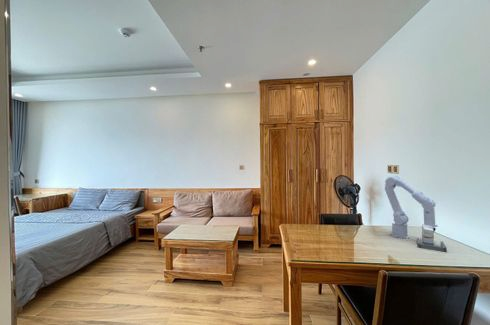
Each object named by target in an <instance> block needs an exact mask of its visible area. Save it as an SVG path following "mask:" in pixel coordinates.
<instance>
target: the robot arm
mask: <svg viewBox="0 0 490 325" xmlns="http://www.w3.org/2000/svg"><path fill="white" fill-rule="evenodd" d="M384 182H385V184H384V190H385V194H386V196H387V198H388V201H389V203H390V206H391V209H392V212H393V215H392V216H393V222H394V223H392V224H391V234H392V237H393V238H400V239H407V240H408V239H409V234H408V232H409V230H408V222H409V220H410V219H409V216H407V215H406V212H404V211H403V208H402V207H401V204H400V201H399V200H398V197H397V195H396V192H395V188H396V187H401V188H402V189H404V190H405V191H406V192H408V193H409V194H411V197H412V198H413V199H414V200H415V201H416V202H418V203H419V204H420V205H421V207H422V208H423V224H425V225H431V226H428V227H429V228H432V229H433V230H434V232H435V231H436V229H437V228H436V227H439V225H438V224H436V214H435V213H436V211H435V207H436V202H435V201H434V199H431V198H430V197H427V196H426V195H424V192H422V191H419V190H417V191H416V190H415V189H414V188H413V187H411V186H410V185H409V184H408V183H407V182H405V181H404V179H402V178H400V177H399V176H397V175H395V176H388V177H387V178H386V179H385V181H384Z"/></svg>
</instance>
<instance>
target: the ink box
mask: <svg viewBox="0 0 490 325" xmlns="http://www.w3.org/2000/svg"><path fill="white" fill-rule="evenodd" d="M428 226H431V225H425V224H424V223H423V224H421V227H422V228H421V231H422V232H421V241H422V244H427V245H434V246H435V242H434V241H435V240H434V239H435V238H434V236H435V235H434V233H435V231H434V230H433V229H432V228H429V227H428Z"/></svg>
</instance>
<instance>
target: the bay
mask: <svg viewBox="0 0 490 325" xmlns="http://www.w3.org/2000/svg"><path fill="white" fill-rule="evenodd" d="M416 243H417V248H419V249H424V250H431V251H435V252H442V251H443V252H442V253H447V252H448V250H447V248H448V247H446V244H445V243H444V241H440V242H439V243H440V246H439V245H435V244H434V245H427V244H423V243H421V240H420V238H419V237H416Z"/></svg>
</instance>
